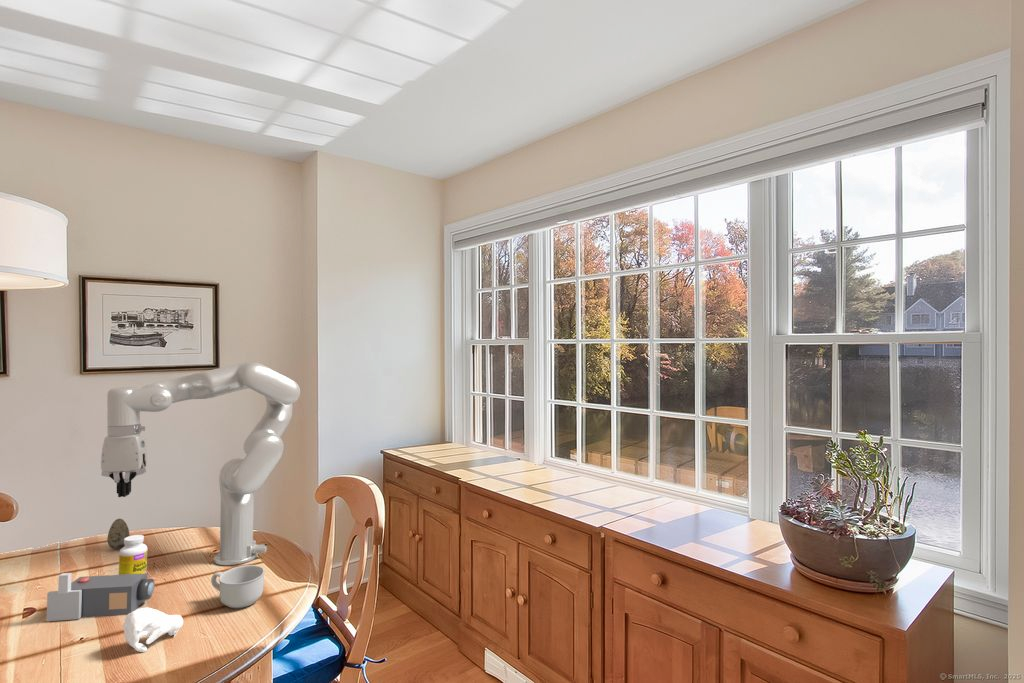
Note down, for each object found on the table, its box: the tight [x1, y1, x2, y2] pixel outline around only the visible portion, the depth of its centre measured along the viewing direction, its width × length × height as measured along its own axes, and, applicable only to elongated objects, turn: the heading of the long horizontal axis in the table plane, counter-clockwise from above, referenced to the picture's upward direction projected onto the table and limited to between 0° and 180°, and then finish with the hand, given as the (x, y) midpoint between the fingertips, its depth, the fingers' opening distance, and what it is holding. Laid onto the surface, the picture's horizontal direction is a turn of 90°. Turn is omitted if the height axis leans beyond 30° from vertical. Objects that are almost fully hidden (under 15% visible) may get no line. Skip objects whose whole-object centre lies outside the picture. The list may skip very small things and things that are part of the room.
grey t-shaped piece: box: [46, 572, 82, 622], centre depth 133 cm, size 7×1×11 cm, turn 100°
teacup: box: [210, 564, 265, 609], centre depth 144 cm, size 14×11×8 cm
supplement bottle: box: [118, 534, 149, 575], centre depth 155 cm, size 7×7×13 cm
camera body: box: [71, 573, 155, 618], centre depth 139 cm, size 18×8×8 cm, turn 100°
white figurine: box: [122, 607, 184, 653], centre depth 124 cm, size 6×8×12 cm
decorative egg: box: [106, 518, 131, 550], centre depth 180 cm, size 6×6×10 cm
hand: (124, 495), depth 153 cm, fingers closed
